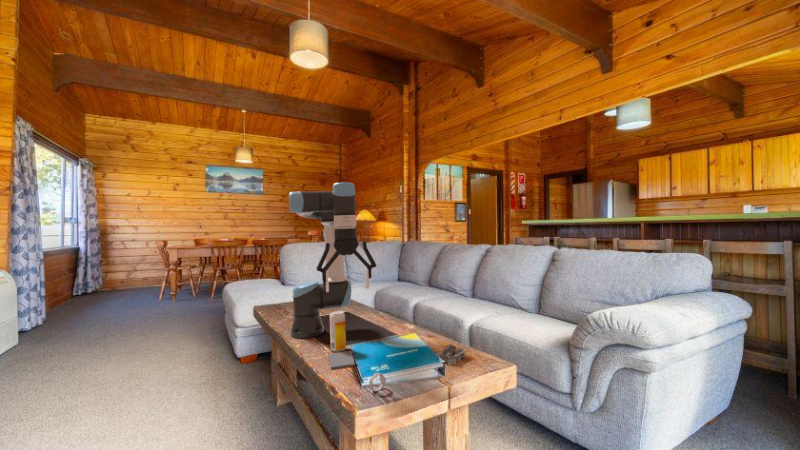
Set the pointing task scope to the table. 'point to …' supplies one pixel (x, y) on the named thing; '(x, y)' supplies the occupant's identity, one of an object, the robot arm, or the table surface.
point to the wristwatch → (382, 381)
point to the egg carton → (448, 352)
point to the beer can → (337, 331)
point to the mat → (341, 359)
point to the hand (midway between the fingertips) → (347, 289)
